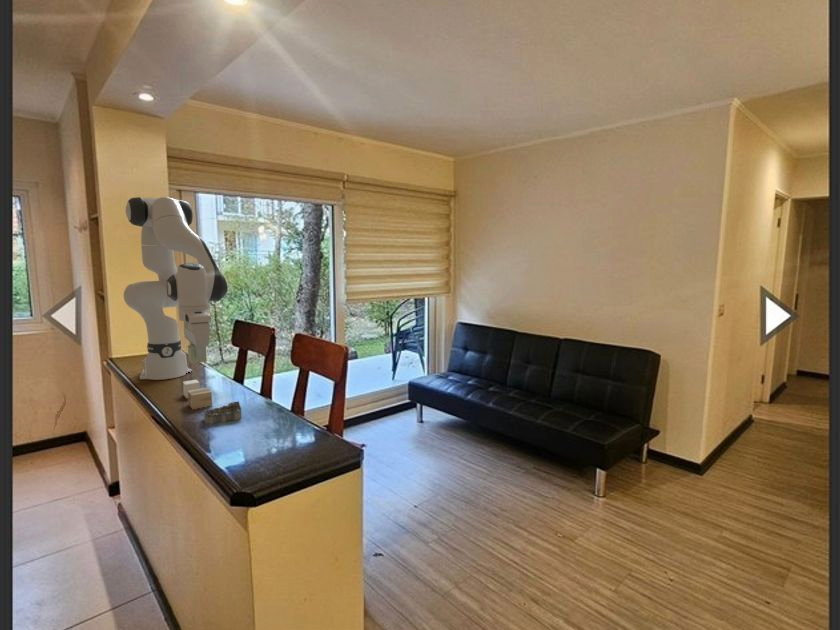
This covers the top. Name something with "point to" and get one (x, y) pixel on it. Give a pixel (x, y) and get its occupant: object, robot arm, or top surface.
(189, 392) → the oak block
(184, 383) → the cream cube
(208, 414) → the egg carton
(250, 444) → the top surface
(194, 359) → the green cube
